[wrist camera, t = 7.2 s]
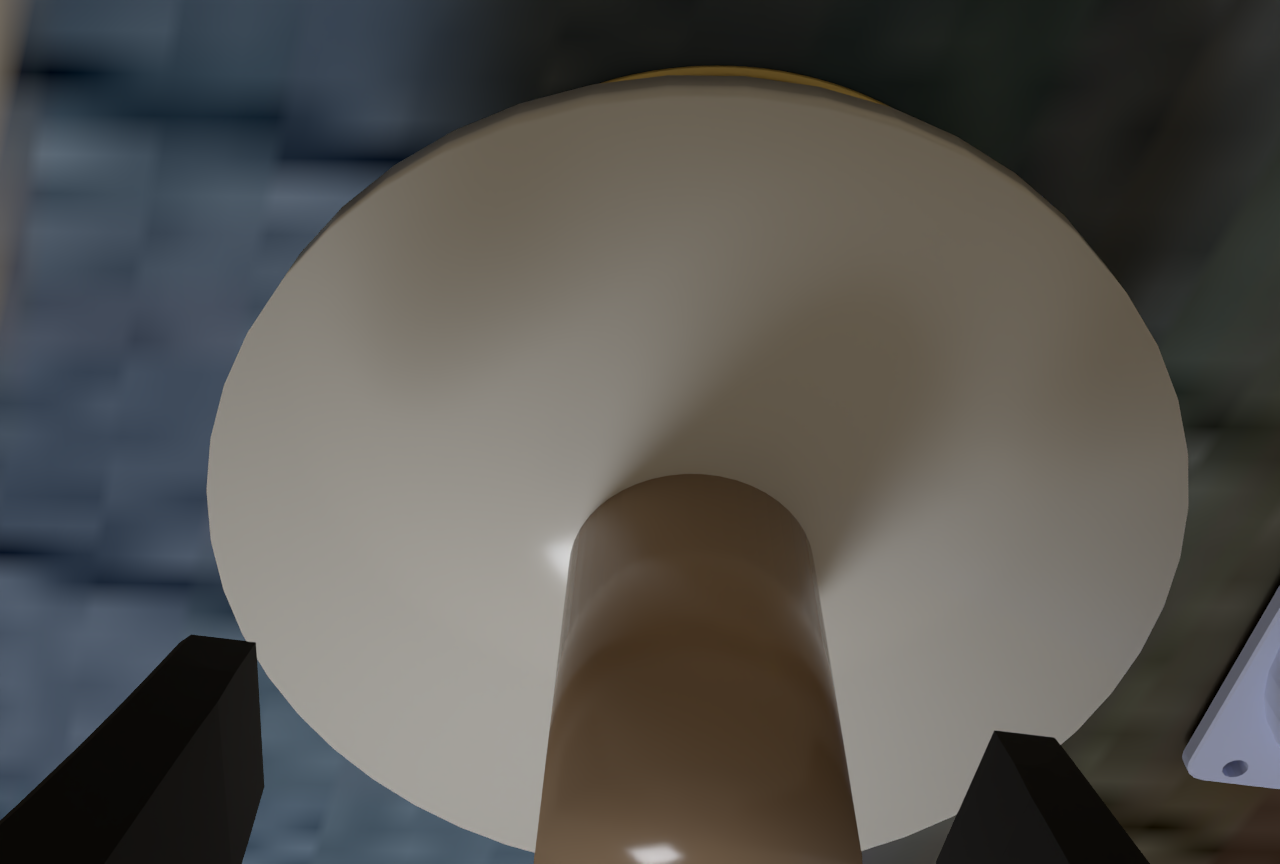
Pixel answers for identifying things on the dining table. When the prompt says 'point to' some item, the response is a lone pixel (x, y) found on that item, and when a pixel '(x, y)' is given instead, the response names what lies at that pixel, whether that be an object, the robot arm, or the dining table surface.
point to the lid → (695, 474)
